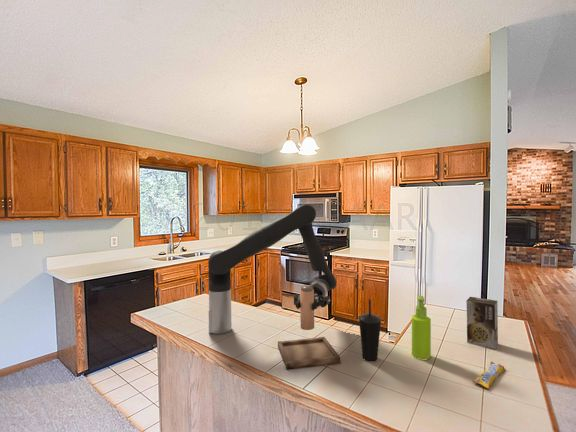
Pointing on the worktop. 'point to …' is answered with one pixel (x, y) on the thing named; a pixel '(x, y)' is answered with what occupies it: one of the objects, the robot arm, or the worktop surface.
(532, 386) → the worktop surface
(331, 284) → the robot arm
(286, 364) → the tray
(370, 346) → the drinking cup
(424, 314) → the soap dispenser
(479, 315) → the coffee box
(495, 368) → the candy bar
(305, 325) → the tan cylinder
